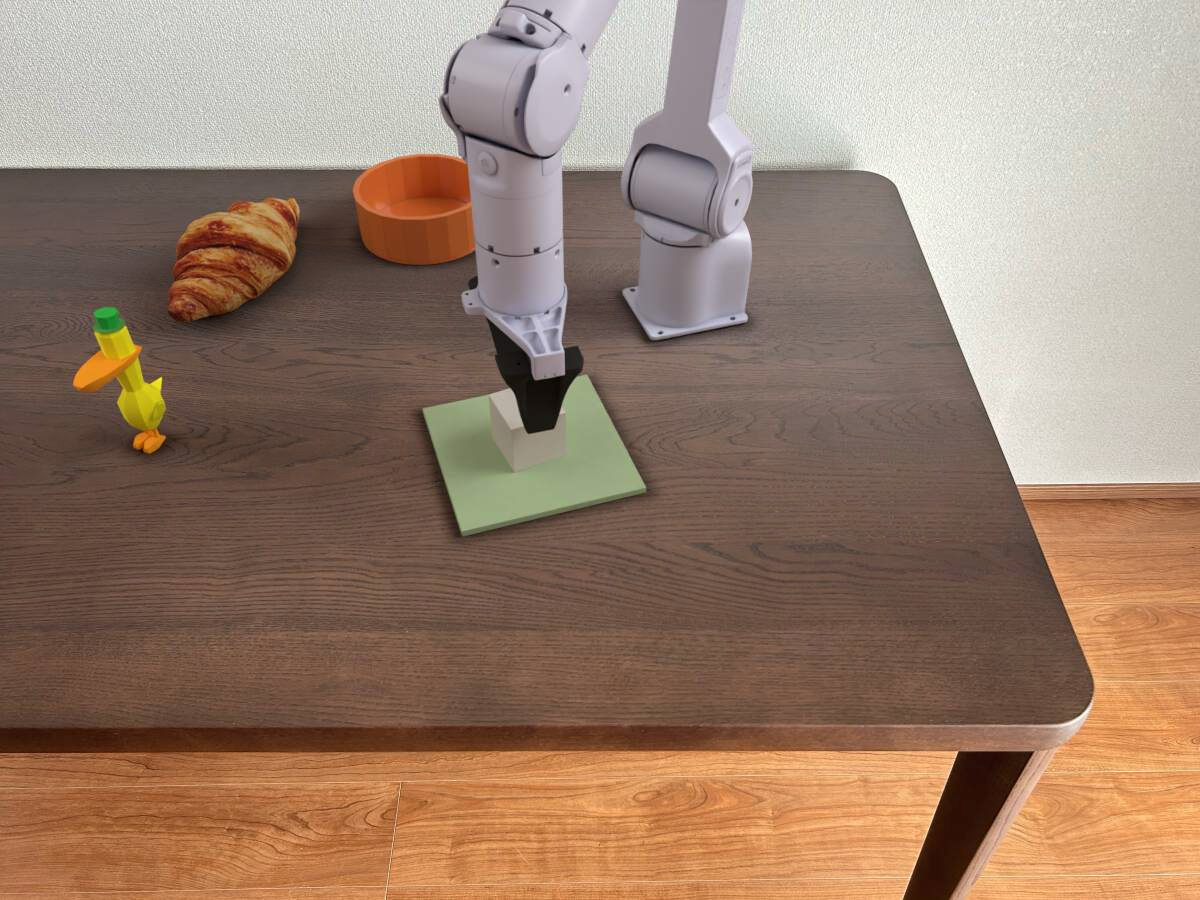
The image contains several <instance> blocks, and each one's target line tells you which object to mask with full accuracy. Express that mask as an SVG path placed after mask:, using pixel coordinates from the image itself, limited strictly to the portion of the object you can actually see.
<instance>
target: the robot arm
mask: <svg viewBox="0 0 1200 900" xmlns="http://www.w3.org/2000/svg"><path fill="white" fill-rule="evenodd" d="M620 1H621V0H504V1H503V3H502V4H501V6H500V8H499V10H498V12H497V13H496V15H495V17H494V18H493V20H492V22H491V24H490V26H489V28H488V29H487V32H482V33H478V34H476V35H475V38H472V37H471V38H470V39H468V40H465V41H463V42H462V43H461V44H459V46H458V47H457V48H456V49H455V50H454V51H453V53H452V55H451V56H450V59H449V60H448V63H447V65H446V68H445V72H444V76H443V85H442V94H441V95H439V97H438V104H439V109H440V113H441V115H442V118H443V121H444V122H445V124H446V125H447V126H448V127H449V128H450V129H451V130H452V132H453V133H454V135H455V137H456V142H457V151H458V156H459V157H460V158H461V159H463V160H464V161H465V162H466V163H467V164H468V173H469V184H470V196H471V207H472V218H473V230H474V240H475V251H474V252H475V262H476V273H477V275H475V276H473V277H471V278H470V279H469V280H468V282H467V286H468V290H465V291H463V292H461V304H462V306H463V310H464V312H465V314H466V315H469V316H478V315H482V316H484V317H485V319H486V322H487V324H488V327H489V330H490V334H491V338H492V340H493V345H494V348H495V351H496V354H494V360H495V363H496V367H497V369H498V371H499V374H500V376H501V378H502V380H503V381H504V383H505V384H506V385H507V387H508V388H511V390H512V391H513V393H514V395H515V397H516V401H517V405H518V410H519V413H520V417H521V420H522V423H523V425H524V428H525V430H526V432H527V434H532V433H538V432H543V431H548V430H553V429H554V428H555V426H556V423H557V420H558V417H559V414H560V410H561V407H562V403H563V400H564V397H565V395H566V393H567V390H568V389H569V387H570V385H571V384H572V382H573V381H574V379H575V378H576V377H577V376H580V374H581V373H582V372H583V369H584V363H585V358H584V356H583V354H582V351H581V349H580V348H579V345H574V346H569V347H563V343H562V340H563V333H564V325H565V317H566V312H567V303H568V288H567V284H566V283H565V272H564V271H565V263H564V261H565V260H564V259H565V258H564V256H565V255H564V253H565V252H564V205H563V198H564V197H563V147H564V145H566V143H567V142H568V141H569V138H570V137H571V135H572V134H573V133H574V132H575V130H576V128H577V126H578V123H579V119H580V115H581V111H582V105H583V99H584V92H585V88H586V85H587V83H588V82H589V80H590V78H589V75H590V73H591V68H590V66H589V64H588V62H587V61H588V60H589V58H590V56H591V55H592V52H593V51H594V49H595V47H596V45H597V44H598V41H599V40H600V38H601V36H602V34H603V32H604V31H605V30H606V29H605V28H606V27H607V25H608V24H609V21H610V20H611V18H612V16H613V14H614V13H615V10H616V9H617V7H618V5H619V3H620ZM745 5H746V0H677V2H676V9H675V10H676V11H675V18H674V25H673V31H672V41H671V50H670V54H669V62H668V63H669V64H668V71H667V78H666V86H665V93H664V100H663V108H661V109H660V110H658V111H655V112H654V113H652V114H650V115H648V116H647V117H645V118H644V119H643V120H642V121H640V122H639V123H638V124H637V125H636V126H635V128H634V129H633V134H632V140H631V144H630V147H629V151H628V155H627V157H626V159H625V161H624V165H623V168H622V172H621V175H620V177H621V178H620V191H621V196H622V201H623V202H624V204H625V206H626V207H627V208H628V209H630V210H633V211H634V215H633V223H635V224H637V225H639V226H640V227H641V228H640V246H639V267H638V285H637V286H631V287H626V288H623V289H622V297H623V298H624V299H625V301H626V303H627V304H628V306H629V307H630V309H631V311H632V312H633V313H634V316H635V318H636V319H637V320H638V322H639V324H640V325H641V328H643V330H644V332H645V333H646V335H647V337H648V338H649V339H650V340H651V341H661V340H665V339H670V338H675V337H681V336H685V335H691V334H695V333H700V332H705V331H711V330H716V329H720V328H725V327H730V326H735V325H740V324H745V323H747V322H748V320H749V316H748V314H747V313H746V304H747V299H748V298H747V296H748V290H749V283H750V278H751V277H750V276H751V268H752V263H753V249H752V247H753V246H752V239H751V235H750V232H749V228H748V226H747V224H746V222H745V220H744V218H745V216H746V214H747V212H748V209H749V206H750V202H751V200H752V194H753V186H754V185H753V184H754V182H753V174H752V173H753V172H752V171H753V160H754V148H755V145H754V144H753V142H752V141H751V139H750V138H749V137H748V135H746V133H744V131H743V130H742V128H740V126H738V125H737V123H736V122H735V121H734V120H733V118H732V117H731V116H730V114H729V112H728V111H727V110H728V105H729V99H730V92H731V87H732V81H733V76H734V75H733V74H734V69H735V63H736V58H737V52H738V45H739V40H740V35H741V29H742V23H743V16H744V11H745Z"/></svg>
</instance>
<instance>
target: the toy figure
mask: <svg viewBox="0 0 1200 900" xmlns="http://www.w3.org/2000/svg"><path fill="white" fill-rule="evenodd" d="M119 314H120V313H119V310H118V309H117V308H116V307H114V306H112V307H111V306H104V307H102V308H98V309H95V311H94V312H93V317H94V319H95V322H94V323H93V325H92V329H93V331H94V332H93V334H94V336H95V338H96V341H97V343H98V345H99V347H100V350H99V351H98V352H96V353H95V354H94V355H92V357H90V358H89V359H87V361H86V362H85V363H84V364H83V365H82V366H81V367H80V368H79V370H78V371H77V372H76V374H75V376H74V379H73V383H72V386H73V387H74V388H75V389H76V390H77V391H78V392H87V393H89V392H91V393H92V392H96V391H98V390H99V389H101V388H102V387H103V388H104V386H106V385H107V384H108V383H110V382H111V381H113V380H114V379H117V381H118V383H119V384H120V386H121V388H122V390H121V393H120V394H119V397H118V399H117V401H116V404H117V406H118V410H120V413H121V414H122V417H123V419H124V420H125V421H126V422H127V423H128V425H130V426H132V427H133V428H135V429H138V430H140V431H143V432H140V433H138V434H137V435H135V436H134V440H133V444H132V447H133V449H136V450H138V451H139V450H141V449H142V451H143V452H144V453H145V454H148V455H149V454H152V453H153V452H155V451H157V450H158V449H160V447H161V446H162V444H163V443H164V442H165V440H166V439H167V437H166V435H164V434H160V433H159V432H160V431H159V430H158V427H159V425H160V423H161V422H162V419H163V417H164V414H165V413H166V411H167V407H166V403H165V402H166V401H165V399H163V396H162V395H161V392H162V383H163V376H161V377H159V378H158V379H156V380H154V381H152V382H151V383H148V382H146V381H144V376H143V373H142V368H141V363H140V358H139V355H140V353H141V352H142V350H143V347H142V346H141V345H137V344H134V342H133V340H132V337H131V334H130V332H129V330H128V327H127V326H126V321H125V319H123V318H121V317H119Z"/></svg>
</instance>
